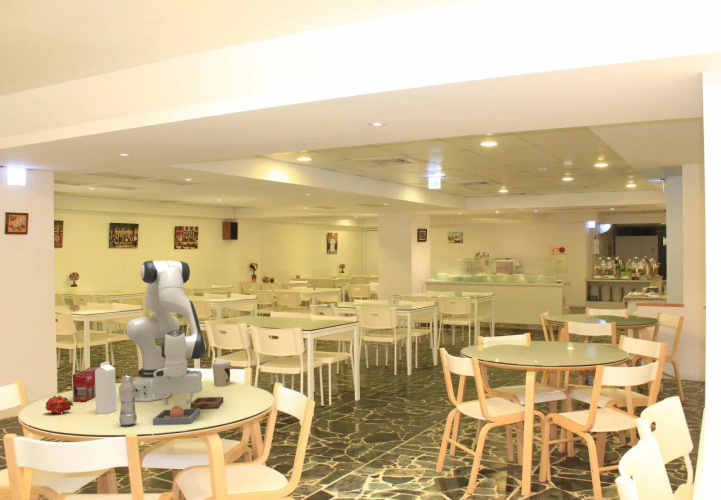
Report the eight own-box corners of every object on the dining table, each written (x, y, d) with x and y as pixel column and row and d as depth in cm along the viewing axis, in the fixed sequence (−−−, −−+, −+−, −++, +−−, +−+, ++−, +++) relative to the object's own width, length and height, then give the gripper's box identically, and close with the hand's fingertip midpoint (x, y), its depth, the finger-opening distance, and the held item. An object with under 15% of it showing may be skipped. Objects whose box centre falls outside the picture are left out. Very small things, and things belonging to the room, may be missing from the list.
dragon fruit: (45, 416, 279) (71, 420, 279) (37, 409, 273) (64, 412, 272) (53, 398, 284) (78, 402, 284) (46, 390, 278) (72, 394, 277)
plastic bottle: (122, 423, 258) (120, 374, 258) (139, 422, 258) (137, 373, 258) (117, 427, 251) (115, 377, 251) (134, 426, 252) (133, 376, 252)
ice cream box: (90, 393, 318) (89, 367, 319) (103, 393, 319) (102, 366, 319) (72, 402, 298) (72, 374, 299) (86, 402, 299) (85, 374, 299)
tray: (190, 409, 278) (190, 403, 278) (197, 402, 290) (197, 397, 290) (217, 408, 278) (217, 403, 278) (223, 402, 290) (223, 396, 290)
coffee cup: (229, 386, 324) (228, 363, 324) (210, 387, 324) (210, 363, 324) (232, 382, 333) (232, 360, 334) (215, 383, 334) (214, 360, 334)
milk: (96, 413, 275) (94, 363, 276) (104, 410, 281) (102, 360, 281) (108, 414, 274) (106, 363, 274) (116, 410, 280) (114, 360, 280)
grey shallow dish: (153, 425, 253) (152, 418, 253) (164, 415, 268) (164, 409, 268) (190, 423, 253) (190, 417, 253) (199, 414, 268) (199, 408, 268)
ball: (168, 421, 258) (167, 407, 258) (172, 418, 264) (171, 404, 264) (182, 421, 258) (181, 407, 258) (185, 417, 264) (185, 404, 264)
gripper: (203, 368, 264) (204, 401, 264) (154, 370, 264) (155, 403, 264) (199, 370, 258) (201, 404, 258) (149, 372, 258) (150, 406, 257)
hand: (177, 404), depth 261 cm, fingers open, 8 cm apart
